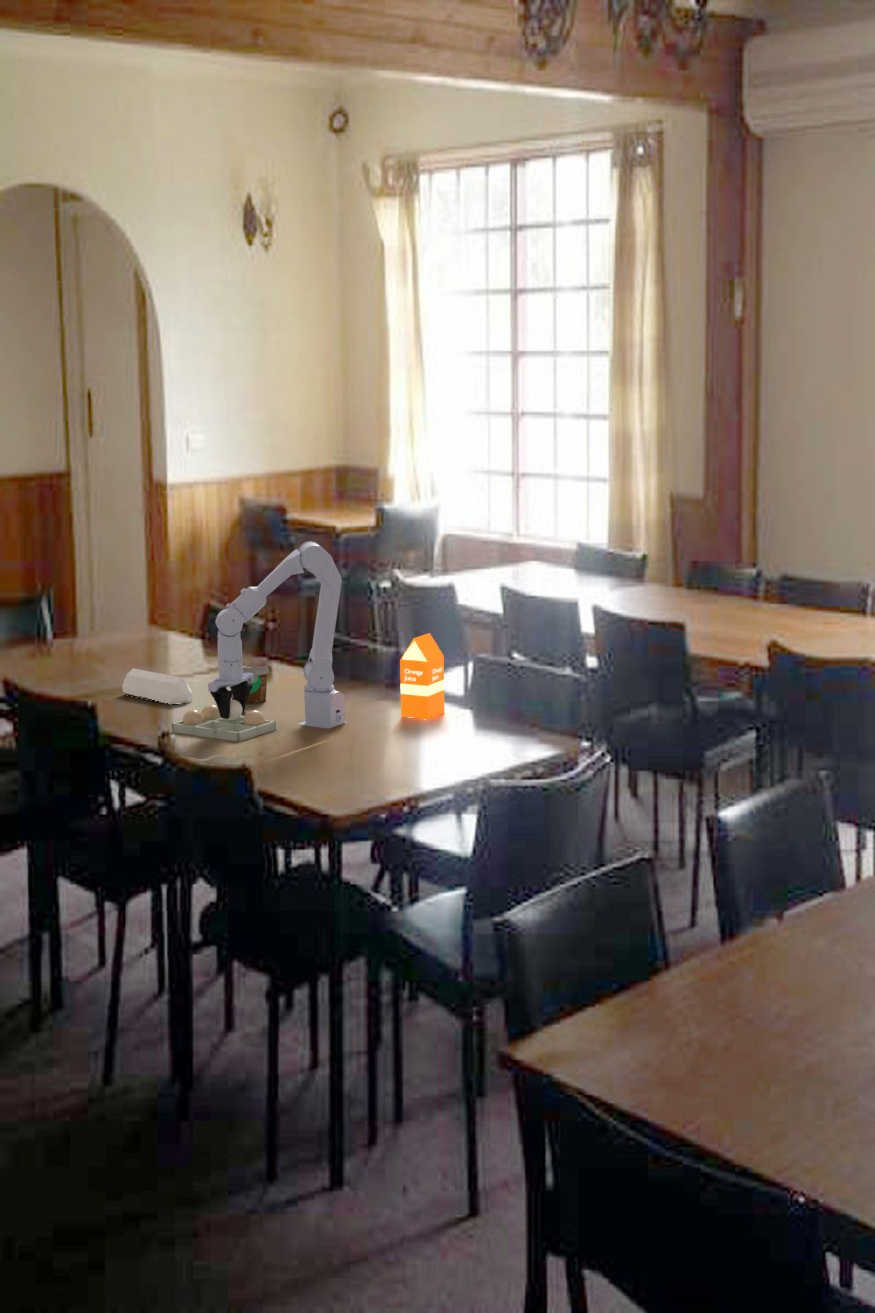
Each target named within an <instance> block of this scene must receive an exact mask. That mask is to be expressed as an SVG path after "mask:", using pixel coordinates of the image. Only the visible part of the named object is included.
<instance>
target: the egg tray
mask: <svg viewBox="0 0 875 1313" xmlns="http://www.w3.org/2000/svg"><path fill="white" fill-rule="evenodd" d="M276 730H277V722H276V721H275V720H269V719H265V723H264V724H263V725H260V726H256V727H255V726H248V725H244V716H240V717H239V718H238V719H236V720H228V719H225V718H220V719H216V720H206V719H204V723H203V724H200V725H196V726H191V725H184V724H183V719H182V720H180V721H179V720H178V721H176V722H173V723H172V722H171V731H172V733H176V734H182V735H183V734H185V735H191V736H197V737H203V738H204V737H205V738H212V739H216V740H217V739H218V740H223V741H224V740H225V741H232V742H238V743H239V742H242V741H245V740H248V739H252V738H255V737H257V736H261V735H264V734H267V733H270V732H274V731H276Z"/></svg>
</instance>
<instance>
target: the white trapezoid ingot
mask: <svg viewBox="0 0 875 1313" xmlns="http://www.w3.org/2000/svg"><path fill="white" fill-rule="evenodd" d="M121 687H122V693H123V692H125V693H129V694H132V695H135V696H142V697H147V698H149V699H152V700H155V701H154V702H157V701H159V702H158V703H163V704H167V703H168V704H167V705H172V704H176V703H185V702H188V701H191V700H192V699H193V698H194V694H193V691H192V690H191V688H190V686H189V684H188V683H187V681H186V680H185V679H184V678H182V677H180V676H175V675H170V674H165V673H159V672H153V671H148V670H144V669H138V668H132V669H131V670H130V671H129V672H127V673H126V675H125V678H124V680H123V683H122V685H121ZM152 700H151V701H152ZM192 701H193V700H192ZM192 701H191V702H192ZM185 704H186V703H185Z"/></svg>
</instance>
